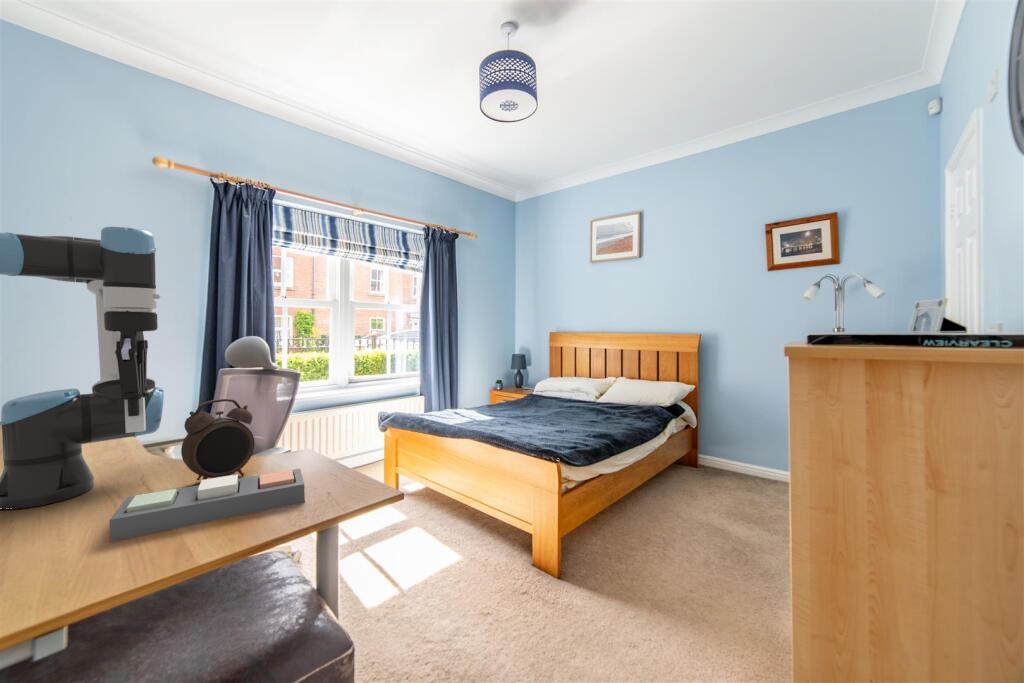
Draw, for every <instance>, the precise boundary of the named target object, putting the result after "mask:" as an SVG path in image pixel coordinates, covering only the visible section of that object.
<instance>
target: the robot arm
mask: <svg viewBox="0 0 1024 683" xmlns="http://www.w3.org/2000/svg"><path fill="white" fill-rule="evenodd" d="M156 252H157V248H156V245H155V237H154V235H153V233H151V232H150V231H148V230H143V229H140V228H133V227H123V226H105V227H103V228H102V229H101V230H100V239H95V238H94V239H93V238H85V237H84V238H83V237H75V236H74V237H73V236H69V235H68V236H67V235H49V236H48V235H44V236H43V235H42V236H41V235H40V236H39V235H30V234H19V233H13V232H6V231H5V232H0V275H2V276H3V275H4V276H9V277H34V278H36V277H37V278H43V279H49V280H54V281H59V282H67V283H81V284H83V283H85V284H86V289H87V290H88V291H89V292H90V293H92V294H94V295H95V306H96V307H95V309H96V310H95V311H96V325H97V340H98V341H97V342H98V344H97V345H98V359H99V360H98V361H99V377H100V379H99V380H98V381H97V382H96V383H94V384H93V385H92V387H91V391H92V393H84V394H83V393H82V394H81V391H80V390H79V389H78V388H65V389H56V390H51V391H49V390H48V391H44V392H38V393H32V394H29V395H24V396H19V397H16V398H13V399H10V400H8V401H6V402H5V403H4V404H3V405H2V407H1V416H0V417H1V418H0V426H1V432H2V433H1V434H2V435H1V436H2V454H3V455H2V457H3V469H2V473H1V475H0V508H2V509H6V508H9V509H10V508H12V509H11V510H15V509H14V508H22V509H26V507H27V509H28V507H29V508H34V507H39V506H45V505H48V504H49V505H50V504H54V503H57V502H61V501H64V500H69V499H71V498H74V497H78V496H80V495H83V494H85V493H87V492H88V491H90V490H92V489H93V488H94V486H95V477H94V474H93V473H92V471H91V469H90V467H89V466H88V464H87V461H86V460H85V458H84V456H83V448H82V446H83V445H86V444H91V443H98V442H99V443H100V442H106V441H113V440H119V439H125V438H137V437H139V436H145V435H149V434H153V433H155V432H157V431H158V430H159V428H160V425H161V423H162V417H163V408H164V399H165V398H164V397H165V395H164V391H165V390H164V388H163V387H159V386H157V387H156V381H155V379H153V378H151V377H150V376H148V374H147V373H148V372H147V370H148V369H147V367H148V366H147V363H148V361H147V360H148V349H149V341H148V340H147V339H145V337H144V336H145V335H144V332H154V331H156V330H157V329H158V328H159V327H158V326H159V325H158V314H157V312H155V311H154V310H156V309H157V308H158V306H157V299H160V298H161V294H159V293H156V292H157V290H156V289H157V285H156Z"/></svg>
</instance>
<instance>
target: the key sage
mask: <svg viewBox="0 0 1024 683" xmlns="http://www.w3.org/2000/svg"><path fill="white" fill-rule="evenodd" d="M177 489H178V488H173V489H166V490H162V491H155V492H150V493H143V494H137V495H134V496H135V497H134V498H133V500H132V501H131V503H130V504H129V505H128V507H127V513H129V512H135V511H141V510H146V509H152V508H157V507H163V506H168V505H174V503H175V501H176V498H177Z"/></svg>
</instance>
